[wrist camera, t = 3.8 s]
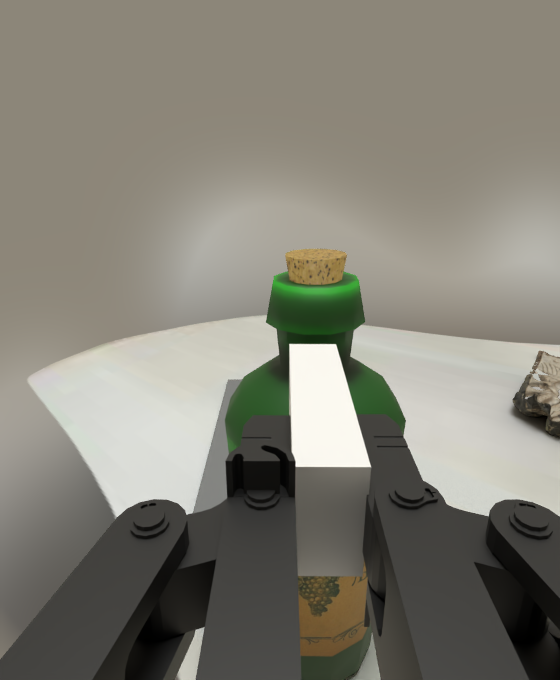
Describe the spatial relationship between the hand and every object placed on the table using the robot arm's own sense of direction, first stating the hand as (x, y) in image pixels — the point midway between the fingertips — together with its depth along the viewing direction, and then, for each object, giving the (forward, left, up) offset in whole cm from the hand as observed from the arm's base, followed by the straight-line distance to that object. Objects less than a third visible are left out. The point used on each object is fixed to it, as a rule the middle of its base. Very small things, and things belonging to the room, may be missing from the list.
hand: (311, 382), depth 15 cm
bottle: (-2, -11, -26) cm, 28 cm away
